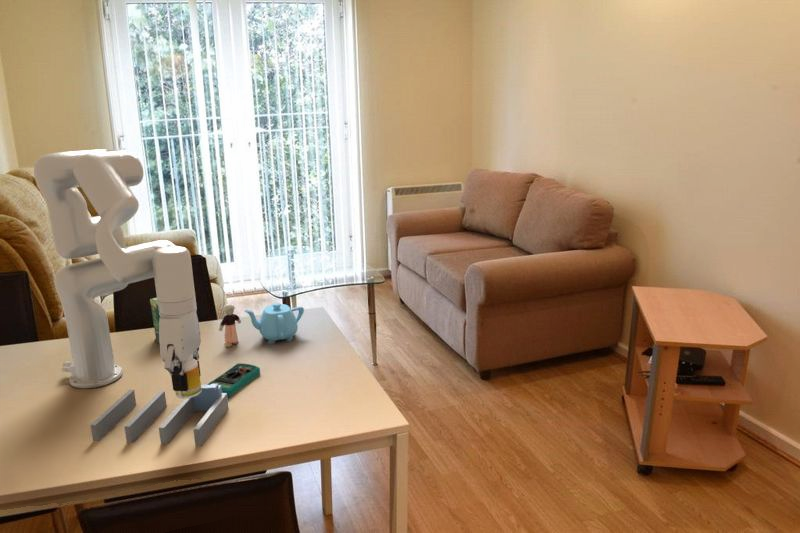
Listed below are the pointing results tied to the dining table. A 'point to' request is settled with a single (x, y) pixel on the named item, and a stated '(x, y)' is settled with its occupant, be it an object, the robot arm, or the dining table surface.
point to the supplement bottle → (190, 378)
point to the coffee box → (155, 316)
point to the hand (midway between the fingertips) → (187, 383)
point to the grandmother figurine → (230, 325)
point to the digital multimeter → (236, 378)
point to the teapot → (277, 322)
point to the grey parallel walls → (206, 401)
